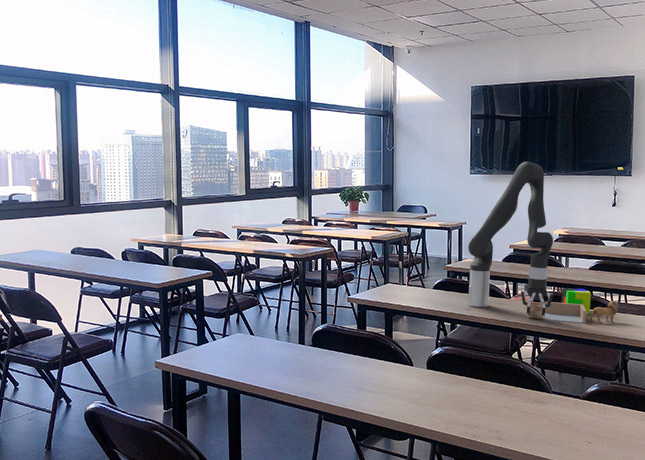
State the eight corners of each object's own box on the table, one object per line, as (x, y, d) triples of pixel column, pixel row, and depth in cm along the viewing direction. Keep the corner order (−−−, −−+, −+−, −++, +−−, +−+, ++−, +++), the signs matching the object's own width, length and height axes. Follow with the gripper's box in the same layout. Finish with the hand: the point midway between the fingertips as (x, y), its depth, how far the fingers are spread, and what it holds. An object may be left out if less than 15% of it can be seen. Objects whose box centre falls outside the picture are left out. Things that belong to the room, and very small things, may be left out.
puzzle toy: (582, 309, 299) (583, 289, 298) (589, 314, 289) (590, 292, 288) (561, 308, 300) (562, 288, 299) (567, 313, 290) (568, 291, 289)
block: (529, 317, 275) (530, 303, 274) (529, 315, 280) (530, 301, 279) (541, 318, 273) (542, 304, 273) (541, 316, 278) (542, 302, 278)
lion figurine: (610, 319, 278) (612, 299, 277) (620, 322, 273) (621, 302, 272) (585, 322, 272) (586, 301, 271) (595, 324, 267) (596, 303, 266)
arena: (546, 320, 274) (546, 308, 273) (544, 313, 288) (545, 301, 287) (585, 323, 269) (586, 311, 269) (582, 316, 283) (582, 304, 283)
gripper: (520, 277, 274) (518, 315, 275) (555, 279, 269) (553, 318, 271) (520, 274, 281) (518, 312, 282) (554, 277, 276) (552, 315, 278)
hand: (535, 315), depth 277 cm, fingers closed on block, 5 cm apart
